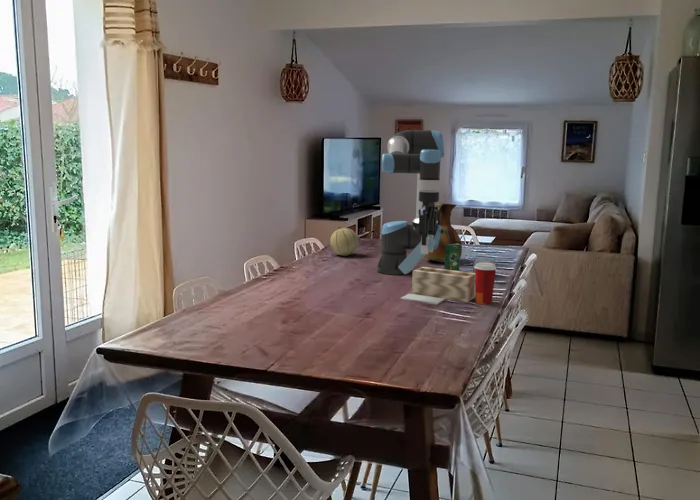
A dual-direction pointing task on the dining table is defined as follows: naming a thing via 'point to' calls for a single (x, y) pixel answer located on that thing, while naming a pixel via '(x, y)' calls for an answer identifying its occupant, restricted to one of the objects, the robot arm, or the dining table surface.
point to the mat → (422, 299)
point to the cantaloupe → (344, 241)
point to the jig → (444, 284)
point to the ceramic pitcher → (444, 232)
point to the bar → (415, 257)
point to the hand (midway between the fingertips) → (426, 252)
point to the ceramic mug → (480, 262)
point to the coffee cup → (484, 282)
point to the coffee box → (452, 257)
